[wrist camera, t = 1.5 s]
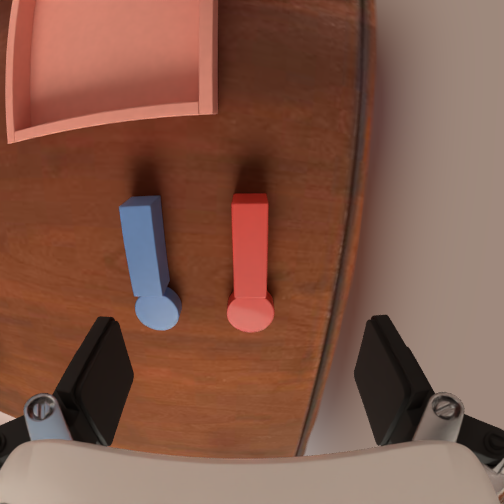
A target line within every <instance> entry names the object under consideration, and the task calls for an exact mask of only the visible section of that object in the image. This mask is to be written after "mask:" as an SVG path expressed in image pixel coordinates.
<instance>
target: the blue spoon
mask: <svg viewBox="0 0 504 504" xmlns="http://www.w3.org/2000/svg"><path fill="white" fill-rule="evenodd" d="M119 211H120V218H121V225H122V232H123V239H124V245H125V251H126V257H127V262H128V268H129V273H130V278H131V283H132V288H133V293H134V296H139V297H138V299H137V301H136V304H135V311H136V314H137V317H138V318H139V320H140V321H141V322H142V323H143V324H144V325H146V326H148V327H149V328H152V329H155V330H167V329H170V328H172V327H173V326H174V325H175V324H176V323H177V321H178V319H179V316H180V312H181V308H182V305H181V301H180V298H179V296H178V295H177V294H176V293H175V292H174V291H173V290H172V289H170V288H169V287H167V286H168V283H169V281H170V277H169V270H168V262H167V254H166V246H165V237H164V228H163V218H162V207H161V197H160V196H137V197H131V198H129V199H128V200H127V201H126V202H124V203H123V204H122V205H121V206H119Z"/></svg>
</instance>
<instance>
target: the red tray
mask: <svg viewBox="0 0 504 504" xmlns="http://www.w3.org/2000/svg"><path fill="white" fill-rule="evenodd" d="M204 114H218V0H13V2H12V8H11V15H10V23H9V32H8V42H7V56H6V122H7V137H8V144H11V143H15V142H19V141H23V140H27V139H31V138H35V137H40V136H44V135H49V134H53V133H58V132H63V131H68V130H74V129H79V128H85V127H91V126H97V125H103V124H110V123H117V122H125V121H133V120H141V119H151V118H161V117H173V116H187V115H204Z"/></svg>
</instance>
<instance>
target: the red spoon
mask: <svg viewBox="0 0 504 504" xmlns="http://www.w3.org/2000/svg"><path fill="white" fill-rule="evenodd" d="M268 208H269V204H268V199H267V194H266V193H235V194H233V199H232V204H231V210H232V248H233V280H234V291H233V292H232V294H231V295H230V297H229V299H228V304H227V318H228V320H229V322H230V323H231V324H232V326H234V327H235V328H236V329H238V330H241V331H244V332H257V331H261V330H263V329H265V328H266V327H268V326H269V325H270V323H271V322H272V320H273V318H274V304H273V299H272V296H271V295H270V293H269V292H268V291H267V264H268Z"/></svg>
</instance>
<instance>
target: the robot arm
mask: <svg viewBox="0 0 504 504" xmlns="http://www.w3.org/2000/svg"><path fill="white" fill-rule="evenodd" d="M354 377H355V381H356V384H357V387H358V390H359V393H360V396H361V399H362V402H363V404H364V407H365V410H366V413H367V416H368V419H369V422H370V425H371V429H372V431H373V435H374V438H375V441H376V443H377V445H378V446H379V445H381V446H380V447H374V448H368V449H361V450H354V451H347V452H339V453H332V454H323V455H312V456H300V457H285V458H260V459H226V458H201V457H186V456H174V455H163V454H155V453H147V452H139V451H133V450H126V449H119V448H113V447H107V446H110V445H111V444H112V442H113V438H114V435H115V432H116V429H117V426H118V423H119V420H120V417H121V414H122V411H123V408H124V405H125V402H126V399H127V396H128V393H129V390H130V388H131V385H132V382H133V378H134V373H133V369H132V366H131V363H130V360H129V356H128V353H127V350H126V346H125V343H124V340H123V336H122V332H121V329H120V325H119V323H118V322H117V321H115V319H114V318H113V317H101V316H100V317H98V318H97V320H96V321H95V323H94V324H93V326H92V328H91V329H90V331H89V333H88V334H87V336H86V338H85V339H84V341H83V343H82V344H81V346H80V348H79V349H78V351H77V352H76V354H75V355H74V357H73V359H72V361H71V362H70V364H69V366H68V368H67V369H66V371H65V373H64V375H63V376H62V378H61V380H60V382H59V384H58V386H57V387H56V389H55V391H54V393H53V395H51V394H48V393H40V394H36V395H34V396H32V397H31V398H30V399H29V400H28V401H27V402H26V404H25V406H24V415H23V416H21V417H19V418H16V419H14V420H12V421H9V422H7V423H5V424H3V425H0V504H504V431H503V430H502V429H500V428H497V427H495V426H492V425H490V424H487V423H485V422H482V421H479V420H477V419H475V418H472V417H470V416H468V415H465V414H464V405H463V403H462V402H461V400H460V399H459V398H458V397H457V396H455V395H453V394H451V393H447V392H439V393H436V394H435V393H434V391H433V389H432V387H431V385H430V384H429V382H428V380H427V378H426V377H425V375H424V373H423V371H422V369H421V367H420V366H419V364H418V362H417V360H416V359H415V357H414V355H413V354H412V352H411V350H410V349H409V348H408V347H407V346H406V345H405V343H404V341H403V340H402V338H401V336H400V335H399V333H398V331H397V330H396V328H395V326H394V325H393V323H392V321H391V320H390V318H389V317H388V316H387V315H376V316H372V318H371V320H368V321H367V323H366V327H365V332H364V335H363V340H362V344H361V348H360V352H359V355H358V359H357V363H356V367H355V370H354Z"/></svg>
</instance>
